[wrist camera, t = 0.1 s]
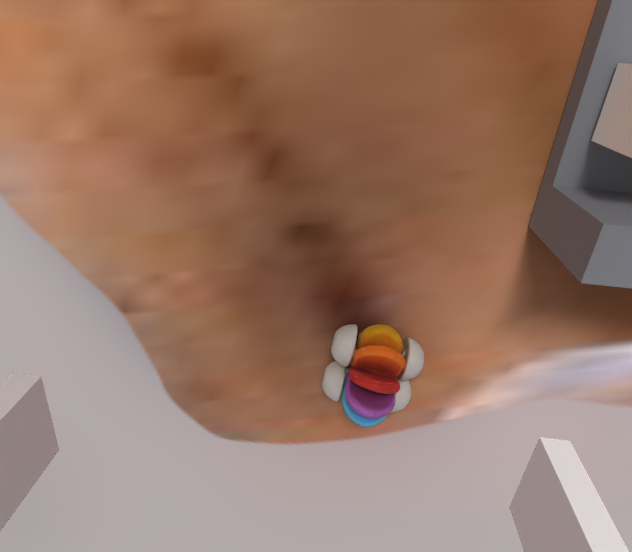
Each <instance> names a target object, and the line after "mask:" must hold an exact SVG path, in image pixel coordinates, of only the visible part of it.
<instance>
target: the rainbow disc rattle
mask: <svg viewBox="0 0 632 552" xmlns="http://www.w3.org/2000/svg"><path fill="white" fill-rule="evenodd" d="M357 332H358V327H357V325H355V324H349V325H345V326H342V327H341V328H339V329H338V330H337V331H336V332H335V335H334V338H333V342H332V347H331V353H332V356H333V357H334V359H335V360H336V361H334V362H332V363H330V364H329V365H328V366H327V367H326V369H325V372H324V377H323V382H322V388H323V390H324V392H325V394H326V395H327V396H328V397H329V398H330V399H331V400H333V401H336V402H338V401H339V399H340V397H341V396H342V405H343V408H344V411H345V413H346V415H347V416H348V417H349V419H350V420H351V421H353V422H354V423H355V424H357V425H359V426H362V427H371V426H375V425H377V424H379V423H380V422H382V421H383V420H384V419H385V418H386V416H387V415H388V414H389V413H390V412H397V411H400V410H402V409H403V408H405V407H406V406H407V404H408V403H409V401H410V398H411V384H410V382H409V379H412V378H414V377H416V376H417V375H418V374H419V373H420V372H421V370H422V368H423V364H424V352H423V349H422V348H421V346H420V345H419V343H418V342H416V341H415V340H414V339H412V338H410V337H407V338H406V339H405V340H404V341H403V342H402V339H401V337H400V335H399V333H398V332H397V331H396V330H395V329H394V328H392V327H390V326H388V325H383V324H378V325H372V326H369V327H367V328H366V329H364V330H363V331H362V332H360V334H359V337H358V339H357ZM356 339H357V342H356ZM350 365H351V366H350ZM348 366H349V367H348ZM346 367H348V368H346Z"/></svg>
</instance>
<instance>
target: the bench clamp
mask: <svg viewBox="0 0 632 552" xmlns="http://www.w3.org/2000/svg"><path fill="white" fill-rule="evenodd" d="M618 63H627V64H632V0H598V2H597V6H596V9H595V12H594V15H593V19H592V22H591V25H590V28H589V31H588V35H587V38H586V41H585V44H584V48H583V51H582V54H581V57H580V60H579V64H578V67H577V70H576V73H575V77H574V80H573V83H572V86H571V90H570V93H569V96H568V99H567V102H566V106H565V109H564V112H563V115H562V119H561V122H560V125H559V128H558V132H557V135H556V138H555V141H554V144H553V148H552V151H551V154H550V157H549V161H548V164H547V167H546V170H545V173H544V177H543V180H542V183H541V186H540V190H539V193H538V196H537V199H536V203H535V206H534V209H533V212H532V215H531V219H530V222H529V225H528V226H529V227H530V229H531V230H532V231H533V232H534V233H535V234H536V235H537V236H538V237H539V238H540V239H541V241H542V242H543V243H544V244H545V245H546V246H547V247H548V248H549V249H550V250H551V251H552V253H553V254H554V255H555V256H556V257H557V258H558V259H559V260H560V261H561V262H562V263H563V265H564V266H565V267H566V268H567V269H568V270H569V271H570V272H571V273H572V274H573V275H574V277H575V278H576V279H577V280H578V281H579V282H580V283H583V284H593V285H603V286H613V287H623V288H632V158H630V157H628V156H625V155H623V154H621V153H619V152H616V151H614V150H612V149H609V148H607V147H605V146H602V145H600V144H598V143H596V142H593V141H591V140H592V137H593V134H594V131H595V129H596V126H597V123H598V120H599V117H600V114H601V111H602V108H603V105H604V103H605V100H606V97H607V94H608V91H609V88H610V85H611V82H612V79H613V76H614V74H615V71H616V68H617V65H618Z"/></svg>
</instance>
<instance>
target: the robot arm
mask: <svg viewBox="0 0 632 552" xmlns="http://www.w3.org/2000/svg"><path fill="white" fill-rule="evenodd" d="M58 451H59V448H58V444H57V439H56V435H55V431H54V427H53V423H52V419H51V415H50V411H49V407H48V402H47V398H46V395H45V390H44V386H43V382H42V378H41V376H33V375H26V374H18V373H12V375H10V376H9V377H8V378H7V379H6V380H5V381H4V382H3V383H2V384H1V385H0V531H1V530H2V528H3V527H4V526H5V524H6V523H7V521H8V520H9V519H10V517H11V516H12V514H13V513H14V512H15V510H16V509H17V508H18V506H19V505H20V503H21V502H22V501H23V499H24V498H25V496H26V495H27V494H28V492H29V491H30V489H31V488H32V486H33V485H34V484H35V482H36V481H37V480H38V478H39V477H40V476H41V474H42V473H43V471H44V470H45V469H46V467H47V466H48V464H49V463H50V462H51V460H52V459H53V458H54V456H55V455H56V453H57V452H58ZM510 510H511V513H512V516H513V519H514V522H515V525H516V528H517V531H518V534H519V537H520V540H521V543H522V546H523V550H524V552H629V551H628V549H627V548H626V546H625V544H624V542H623V540H622V538H621V536H620V534H619V532H618V531H617V529H616V527H615V525H614V523H613V521H612V519H611V517H610V516H609V514H608V512H607V510H606V508H605V506H604V504H603V502H602V501H601V499H600V497H599V495H598V493H597V491H596V489H595V487H594V485H593V484H592V482H591V480H590V478H589V476H588V474H587V472H586V470H585V468H584V467H583V465H582V463H581V461H580V459H579V457H578V456H577V454H576V452H575V450H574V448H573V446H572V444H571V442H570V441H567V440H559V439H551V438H543V437H540V438H539V440H538V443H537V445H536V447H535V449H534V452H533V454H532V456H531V458H530V461H529V463H528V465H527V468H526V470H525V472H524V474H523V477H522V479H521V481H520V484H519V486H518V488H517V491H516V493H515V495H514V498H513V500H512V502H511V505H510Z"/></svg>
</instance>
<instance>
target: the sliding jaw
mask: <svg viewBox="0 0 632 552" xmlns="http://www.w3.org/2000/svg"><path fill="white" fill-rule="evenodd" d="M591 141H593V142H596V143H598V144H600V145H602V146H605V147H607V148H609V149H612V150H614V151H616V152H619V153H621V154H623V155H625V156H628V157H630V158H632V64H627V63H618V65H617V68H616V71H615V74H614V76H613V79H612V82H611V85H610V88H609V91H608V94H607V97H606V100H605V103H604V105H603V108H602V111H601V114H600V117H599V120H598V123H597V126H596V129H595V131H594V134H593V137H592V140H591Z"/></svg>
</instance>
